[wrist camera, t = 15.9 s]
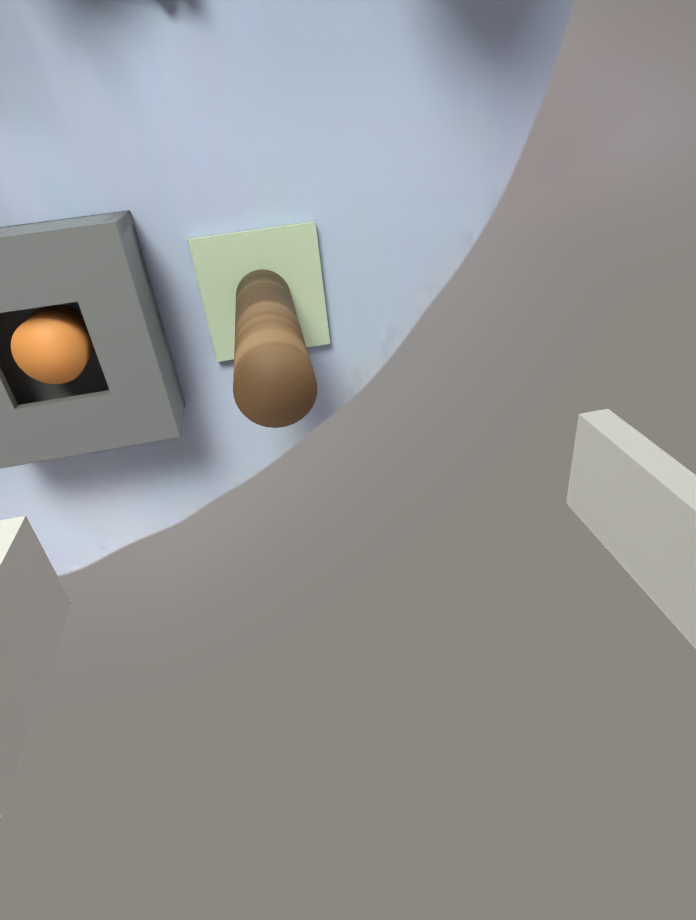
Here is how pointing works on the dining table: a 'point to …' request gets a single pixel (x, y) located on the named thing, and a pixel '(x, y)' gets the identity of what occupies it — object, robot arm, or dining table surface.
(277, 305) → the walnut dowel
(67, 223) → the grey square holder
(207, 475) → the dining table surface
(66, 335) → the button
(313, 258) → the mat
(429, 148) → the dining table surface
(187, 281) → the dining table surface
